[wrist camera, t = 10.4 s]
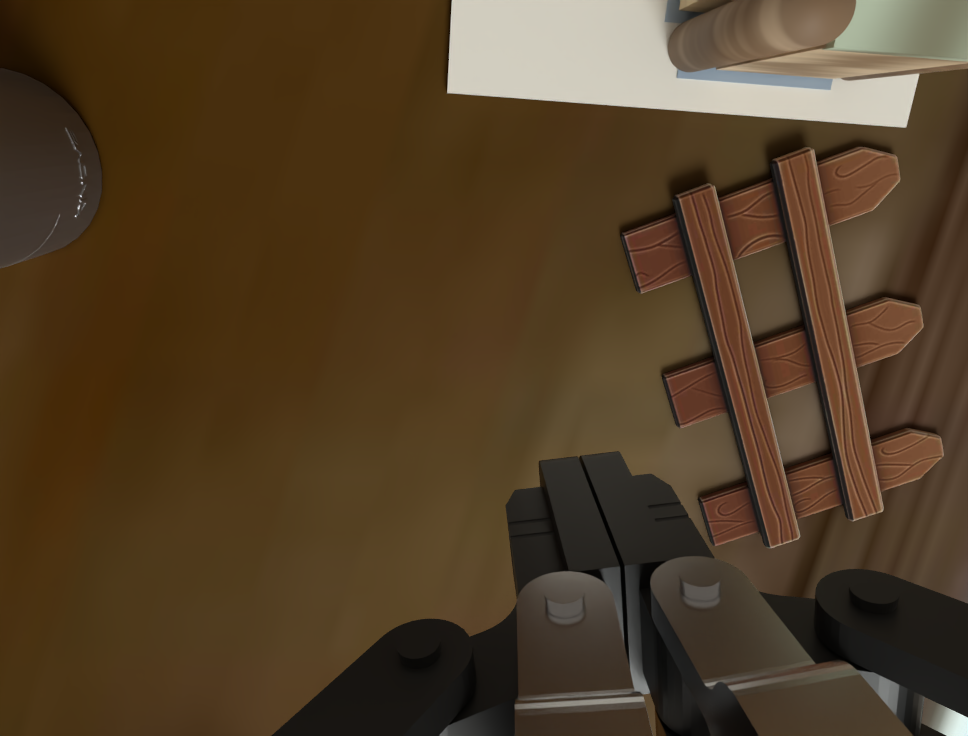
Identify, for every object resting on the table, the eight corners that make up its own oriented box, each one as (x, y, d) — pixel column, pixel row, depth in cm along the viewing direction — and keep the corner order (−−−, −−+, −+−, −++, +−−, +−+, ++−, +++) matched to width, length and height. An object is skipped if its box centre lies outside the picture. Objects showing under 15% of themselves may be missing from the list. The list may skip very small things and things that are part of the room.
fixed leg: (664, 70, 36) (776, 42, 23) (671, 17, 35) (791, -40, 23) (865, 86, 36) (1077, 68, 24) (877, 35, 36) (1102, -12, 23)
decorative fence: (711, 550, 46) (937, 476, 45) (720, 566, 45) (955, 489, 44) (611, 214, 39) (878, 116, 38) (618, 218, 37) (898, 115, 36)
